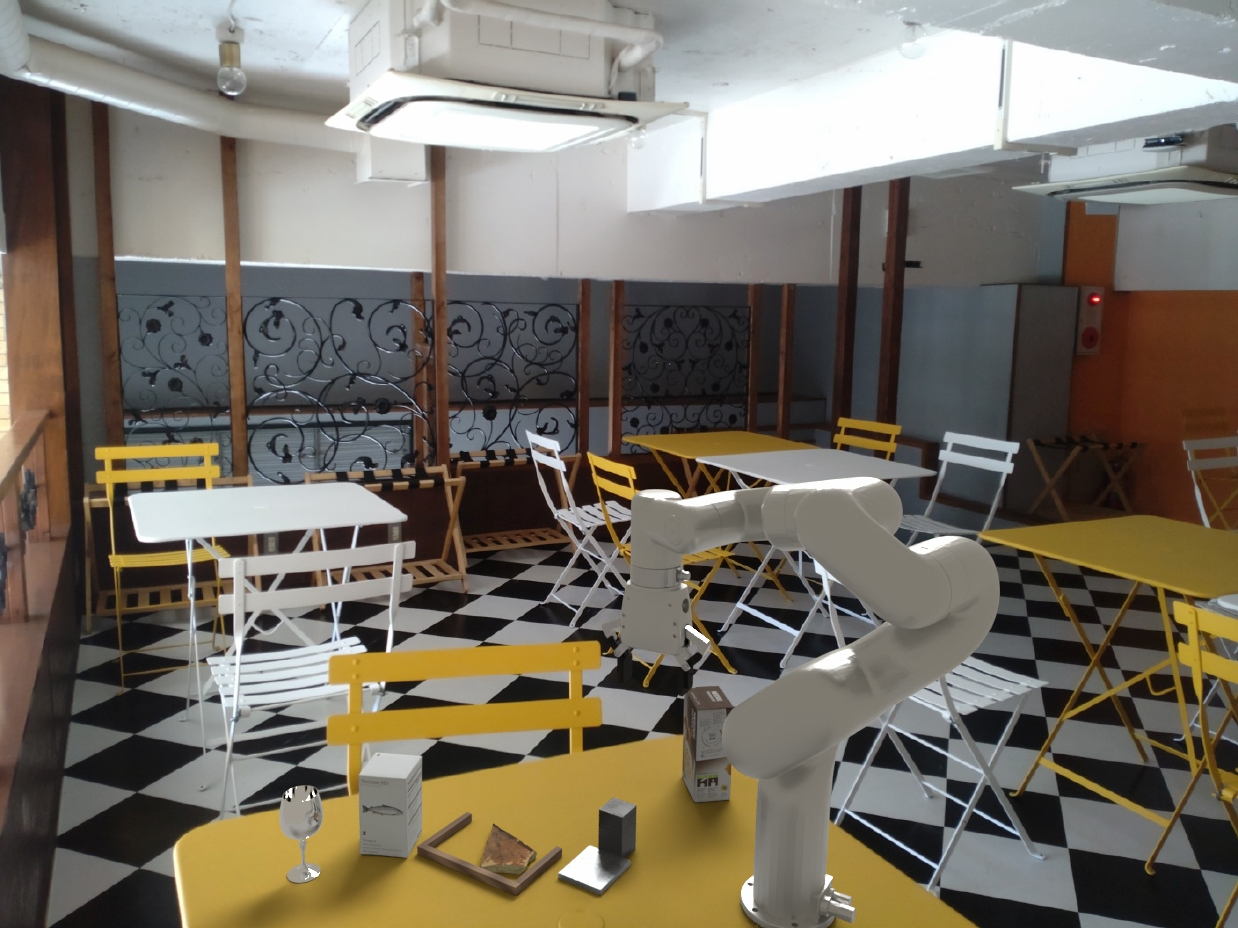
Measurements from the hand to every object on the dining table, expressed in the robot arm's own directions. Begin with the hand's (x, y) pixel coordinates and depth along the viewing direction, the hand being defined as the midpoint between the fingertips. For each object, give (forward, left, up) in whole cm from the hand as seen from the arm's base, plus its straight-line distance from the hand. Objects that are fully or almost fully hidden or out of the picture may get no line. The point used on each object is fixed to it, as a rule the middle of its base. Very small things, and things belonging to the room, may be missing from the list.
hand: (654, 686), depth 137 cm
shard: (+16, +17, -24) cm, 34 cm away
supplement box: (+31, +23, -24) cm, 45 cm away
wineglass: (+36, +35, -24) cm, 56 cm away
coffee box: (-1, -17, -24) cm, 29 cm away
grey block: (+2, +11, -24) cm, 26 cm away
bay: (+17, +18, -24) cm, 34 cm away
